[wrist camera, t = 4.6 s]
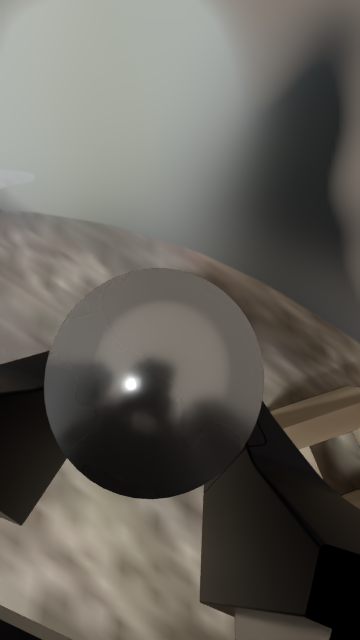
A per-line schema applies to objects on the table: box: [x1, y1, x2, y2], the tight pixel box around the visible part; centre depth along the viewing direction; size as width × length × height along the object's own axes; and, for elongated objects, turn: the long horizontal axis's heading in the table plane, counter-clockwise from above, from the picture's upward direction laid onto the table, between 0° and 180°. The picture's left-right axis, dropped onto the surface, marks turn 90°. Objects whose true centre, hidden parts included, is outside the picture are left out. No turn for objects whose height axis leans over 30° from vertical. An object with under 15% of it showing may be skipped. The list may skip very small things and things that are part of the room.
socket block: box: [270, 386, 360, 509], centre depth 13 cm, size 9×9×4 cm
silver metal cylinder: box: [44, 268, 264, 499], centre depth 9 cm, size 4×4×12 cm
